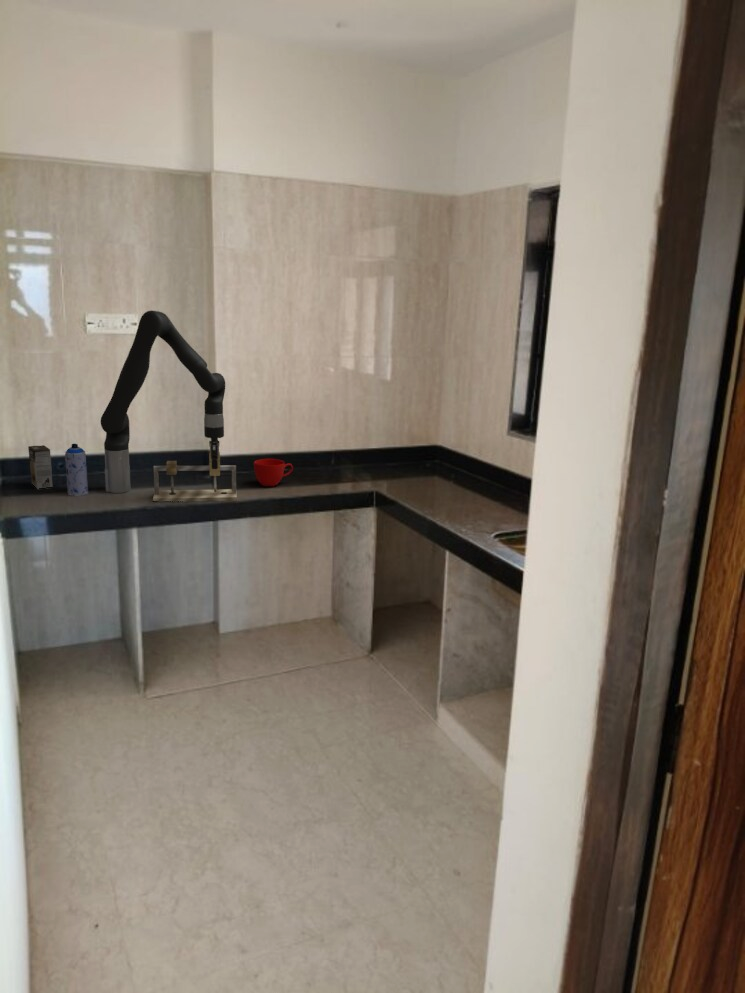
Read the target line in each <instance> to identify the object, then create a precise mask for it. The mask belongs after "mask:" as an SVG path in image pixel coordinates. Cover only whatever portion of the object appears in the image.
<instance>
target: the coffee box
mask: <svg viewBox="0 0 745 993" xmlns="http://www.w3.org/2000/svg"><path fill="white" fill-rule="evenodd" d="M51 456H52V454H51V449H50V448H48V447H47V446H46V445H29V446H28V458H29V469H30V479H31V480H30V481H31V485H32V484H33V485H34V486H35V487H36V488H37V489H36V488H35V487H34V486H33V485H32V486H33V487H34V488H35V489H36V490H40V489H39V488H46V487H53V488H54V486H53V483H54V482H53V474H52V472H53V471H52V457H51ZM46 489H47V488H46Z"/></svg>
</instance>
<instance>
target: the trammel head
mask: <svg viewBox="0 0 745 993" xmlns="http://www.w3.org/2000/svg"><path fill="white" fill-rule="evenodd" d="M208 456H209V458H208V460H209V463H208V466H209V467H210V470H209V476H210V477H213V490H214V492H217V490H218V489H217V477H218V476H219V477H220V476H221V470H220V466H221V451H219V454H218V460H217V462H218V468H217V469H212V460H211V454H210V451H209V455H208ZM213 456H216V454H213Z"/></svg>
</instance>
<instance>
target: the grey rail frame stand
mask: <svg viewBox="0 0 745 993" xmlns="http://www.w3.org/2000/svg"><path fill="white" fill-rule="evenodd" d="M177 462H178V461H177V460H167V461H166V465H153V485H154V487H153V488H154V494H153V498H152V502H153V501H171V503H175V502H176V503H179V502H180V501H181V503H184V502H191V503H193V502H237V501H238V495H237V494H238V492H237V465H229V464H228V465H220V471H231V488H229V489H228V488H227V489H224V488H223V489H217V492H214V489H174V488H175V486H174V485H175V484H174V476H177V473H178V471H179V472H180V471H183V472H184V471H185V472H187V471H188V472H189V471H191V472H193V471H194V472H195V471H198V472H199V471H200V472H201V471H210V467H209V465H178V464H177ZM163 471H164V472H166V476H168V475H169V476H170V489H162V490H161V489H160V485H159V484H160V483H159V482H160V480H159V478H160V477H159V472H163ZM172 501H173V502H172ZM177 501H179V502H177ZM182 501H183V502H182Z"/></svg>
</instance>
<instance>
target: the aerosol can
mask: <svg viewBox="0 0 745 993" xmlns="http://www.w3.org/2000/svg"><path fill="white" fill-rule="evenodd" d="M64 460H65V471H66V473H65V474H66V475H65V476H66V488H67V493H68V494H71V495H83V494H87V493H88V492H89V486H88V484H89V483H88V474H87V473H88V472H87V471H88V470H87V456H86V451H85V450H84V449H83V448H82V447H80V446H78V443H71V447H69V448H68V449H66V451H65V452H64ZM68 494H67V495H68ZM88 494H89V493H88ZM88 494H87V495H88ZM83 496H84V495H83Z"/></svg>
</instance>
